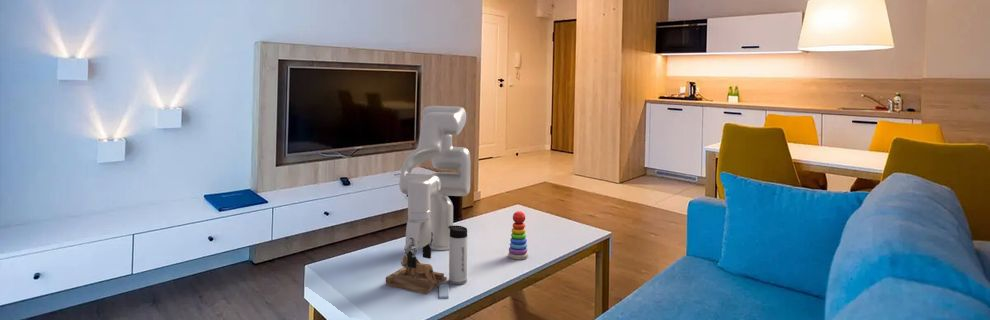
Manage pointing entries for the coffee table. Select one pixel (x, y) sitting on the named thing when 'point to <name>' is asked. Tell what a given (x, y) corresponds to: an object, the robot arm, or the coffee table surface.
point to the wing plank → (444, 292)
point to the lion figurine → (419, 269)
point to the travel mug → (458, 255)
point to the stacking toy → (518, 237)
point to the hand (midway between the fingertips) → (419, 262)
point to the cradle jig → (414, 281)
